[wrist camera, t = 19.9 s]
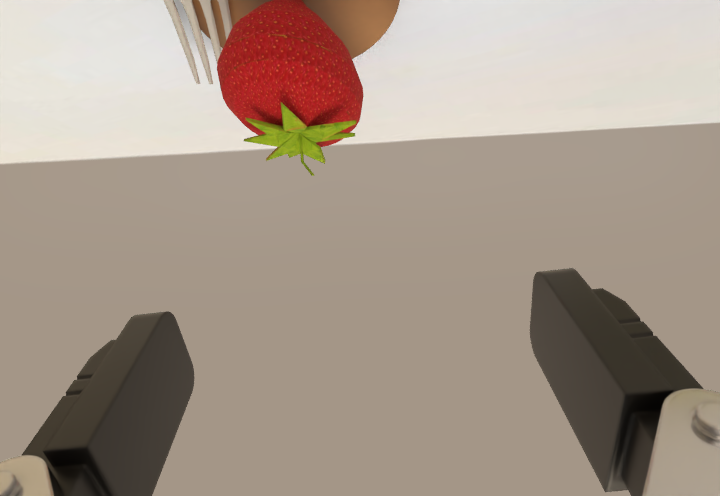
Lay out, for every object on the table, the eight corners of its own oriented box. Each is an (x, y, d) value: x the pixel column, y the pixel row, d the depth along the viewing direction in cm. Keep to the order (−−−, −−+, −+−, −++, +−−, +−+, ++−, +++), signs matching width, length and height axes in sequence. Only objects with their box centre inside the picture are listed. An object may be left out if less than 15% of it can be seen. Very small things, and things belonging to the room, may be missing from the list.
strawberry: (280, -97, 19) (282, 117, 16) (383, 13, 25) (397, 185, 22) (192, -20, 23) (180, 170, 20) (301, 61, 28) (304, 217, 26)
